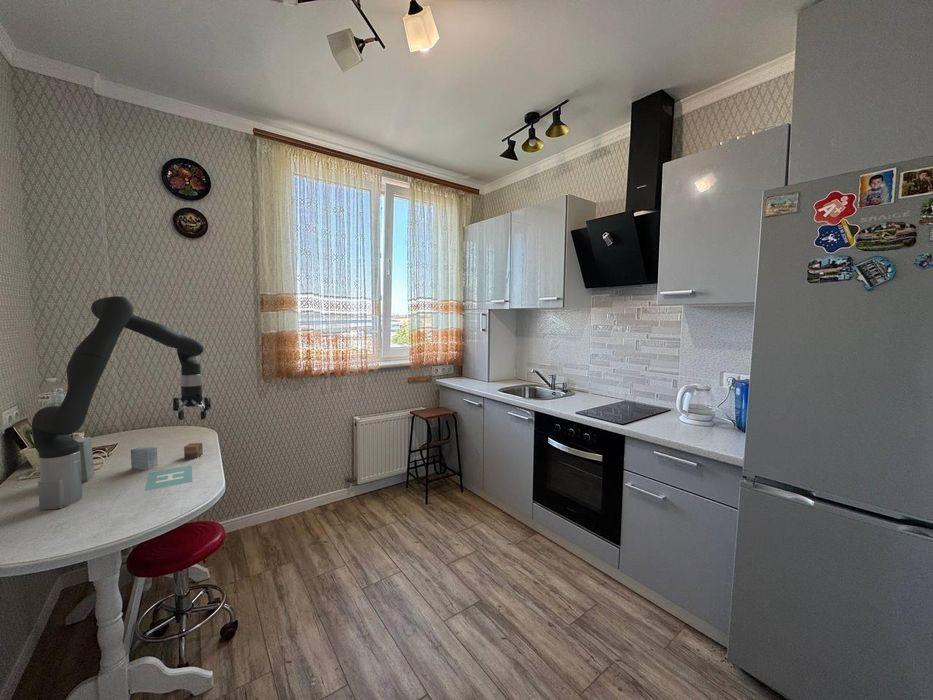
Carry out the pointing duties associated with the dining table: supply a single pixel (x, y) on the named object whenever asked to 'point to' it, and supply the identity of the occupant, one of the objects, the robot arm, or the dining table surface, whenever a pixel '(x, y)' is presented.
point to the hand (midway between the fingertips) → (192, 419)
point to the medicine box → (144, 458)
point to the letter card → (169, 477)
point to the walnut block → (193, 451)
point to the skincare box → (86, 458)
